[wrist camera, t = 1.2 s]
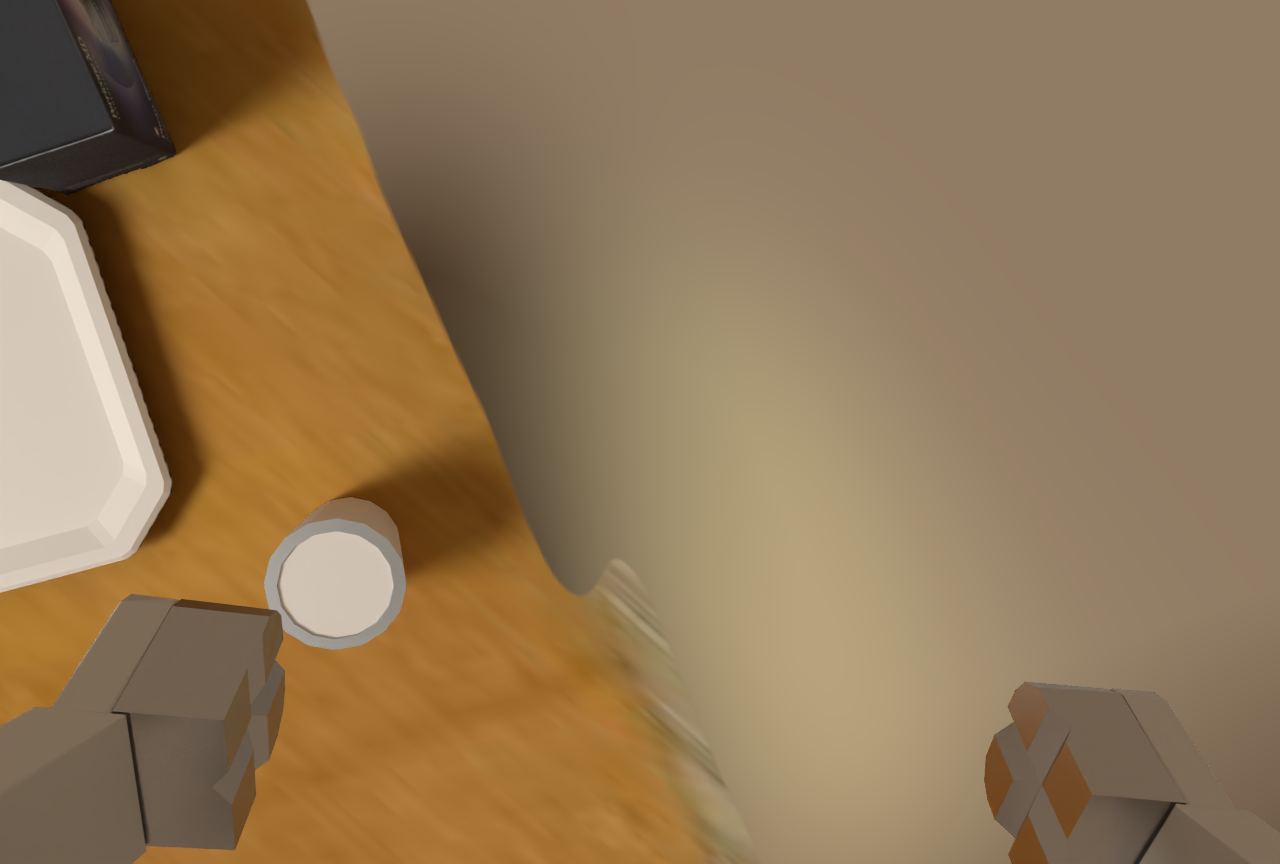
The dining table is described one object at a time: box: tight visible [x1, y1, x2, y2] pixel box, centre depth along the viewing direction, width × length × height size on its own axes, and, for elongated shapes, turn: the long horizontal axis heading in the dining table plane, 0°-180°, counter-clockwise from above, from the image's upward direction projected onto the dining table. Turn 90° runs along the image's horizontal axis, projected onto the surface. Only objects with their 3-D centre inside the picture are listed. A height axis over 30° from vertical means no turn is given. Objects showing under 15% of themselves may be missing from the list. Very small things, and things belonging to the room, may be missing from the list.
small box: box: [0, 0, 176, 195], centre depth 45 cm, size 11×6×10 cm, turn 19°
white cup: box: [264, 497, 407, 650], centre depth 54 cm, size 7×7×7 cm
